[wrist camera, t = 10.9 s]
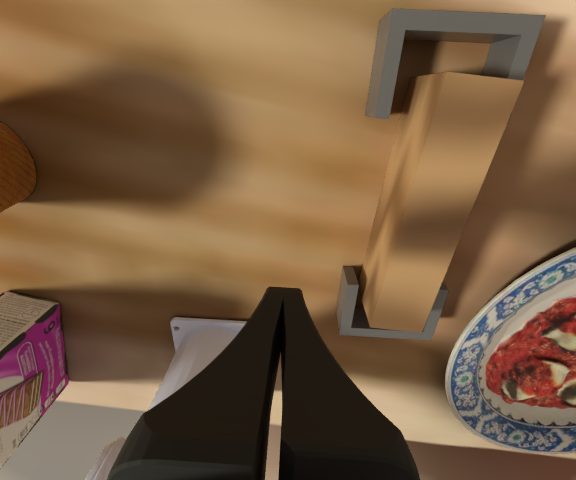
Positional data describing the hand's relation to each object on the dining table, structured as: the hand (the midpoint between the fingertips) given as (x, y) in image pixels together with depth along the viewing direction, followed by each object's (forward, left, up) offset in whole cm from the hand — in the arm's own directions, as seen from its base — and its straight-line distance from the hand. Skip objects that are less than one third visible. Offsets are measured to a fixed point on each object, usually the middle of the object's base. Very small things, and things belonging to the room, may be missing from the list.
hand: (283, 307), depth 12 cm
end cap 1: (-6, -8, -10) cm, 14 cm away
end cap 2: (+9, -8, -10) cm, 16 cm away
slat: (+1, -8, -11) cm, 13 cm away
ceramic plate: (-11, -27, -11) cm, 31 cm away
